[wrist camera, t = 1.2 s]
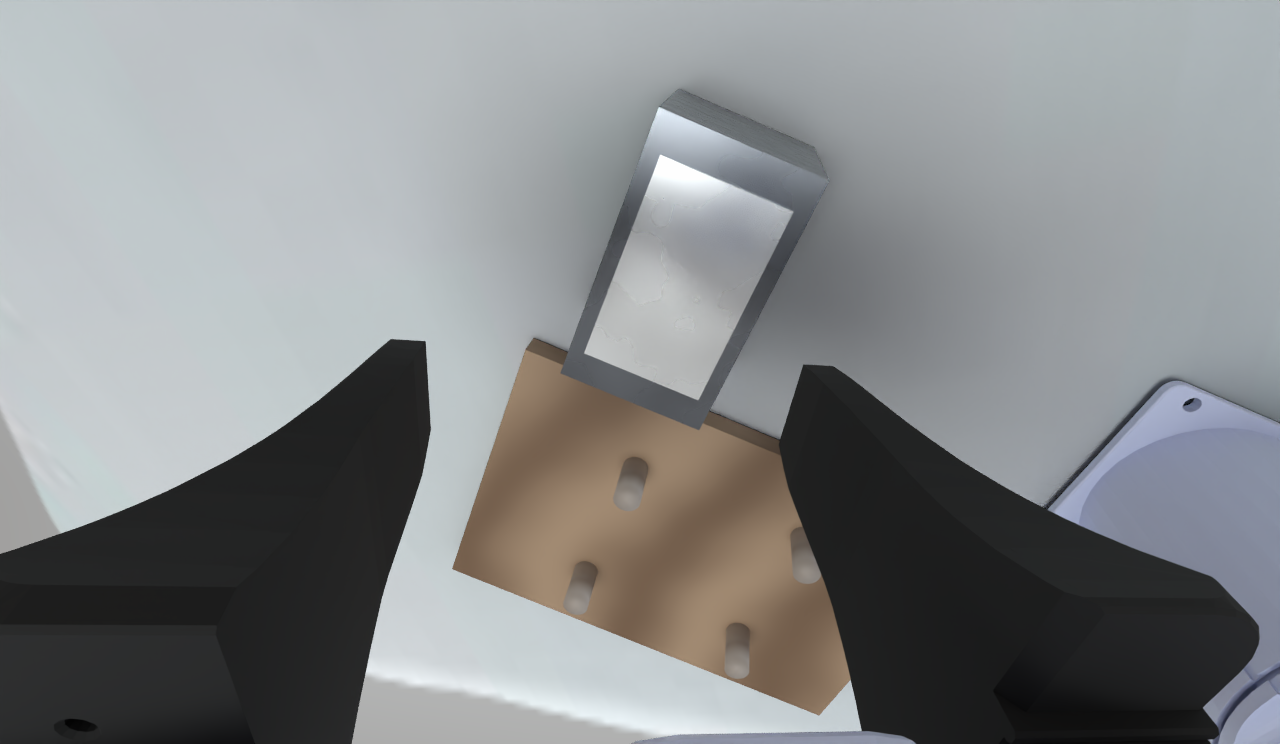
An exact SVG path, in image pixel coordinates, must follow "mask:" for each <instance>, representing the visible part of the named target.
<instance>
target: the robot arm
mask: <svg viewBox="0 0 1280 744" xmlns="http://www.w3.org/2000/svg"><path fill="white" fill-rule="evenodd" d="M1192 398H1195V399H1194V401H1193V402H1192V403H1191V404H1189V405H1186V406H1183V405H1184V403H1185V402H1186V401H1187V400H1189V399H1192ZM430 431H431V426H430V409H429V392H428V375H427V358H426V341H412V340H396V339H391V340H389V341H388V342H387V343H386V344H385V345H383V346H382V347H381V348H380V349H378V350H377V351H376V352H375V353H374V354H373V355H372V356H370V357H369V358H368V359H367V360H366V361H365V362H364V363H363V364H361V365H360V366H359V367H358V368H357V369H356V370H355V371H353V372H352V373H351V374H350V375H349V376H348V377H346V378H345V379H344V380H343V381H342V382H340V383H339V384H338V385H337V386H336V387H334V388H333V389H332V390H331V391H330V392H328V393H327V394H326V395H325V396H324V397H322V398H321V399H320V400H319V401H317V402H316V403H315V404H313V405H312V406H310V407H309V408H308V409H306V410H305V411H304V412H302V413H301V414H300V415H298V416H297V417H296V418H294V419H293V420H292V421H290V422H289V423H287V424H286V425H285V426H283V427H282V428H280V429H279V430H277V431H276V432H274V433H273V434H271V435H270V436H268V437H266V438H265V439H263V440H262V441H260V442H258V443H257V444H255V445H253V446H252V447H250V448H248V449H247V450H245V451H243V452H242V453H240V454H238V455H237V456H235V457H233V458H231V459H230V460H228V461H226V462H224V463H222V464H220V465H218V466H216V467H214V468H212V469H210V470H208V471H206V472H204V473H202V474H200V475H198V476H197V477H195V478H193V479H191V480H189V481H187V482H185V483H183V484H181V485H179V486H177V487H175V488H173V489H171V490H168V491H166V492H164V493H162V494H160V495H157V496H155V497H153V498H151V499H148V500H146V501H144V502H141V503H139V504H137V505H135V506H132V507H130V508H127V509H125V510H122V511H120V512H117V513H115V514H112V515H110V516H107V517H105V518H102V519H100V520H97V521H95V522H92V523H89V524H87V525H84V526H81V527H79V528H76V529H73V530H70V531H67V532H64V533H61V534H58V535H55V536H52V537H50V538H47V539H44V540H41V541H38V542H35V543H32V544H29V545H27V546H23V547H20V548H18V549H15V550H12V551H8V552H6V553H2V554H0V744H352V738H353V733H354V728H355V722H356V717H357V712H358V707H359V701H360V697H361V692H362V687H363V682H364V678H365V673H366V668H367V663H368V658H369V653H370V649H371V644H372V640H373V635H374V631H375V626H376V621H377V617H378V612H379V608H380V603H381V599H382V596H383V592H384V589H385V585H386V582H387V578H388V575H389V572H390V569H391V566H392V563H393V560H394V557H395V554H396V552H397V549H398V546H399V543H400V540H401V537H402V534H403V531H404V528H405V525H406V522H407V519H408V516H409V513H410V510H411V507H412V504H413V501H414V498H415V495H416V492H417V489H418V486H419V483H420V480H421V477H422V473H423V468H424V463H425V458H426V453H427V447H428V442H429V436H430ZM779 449H780V454H781V459H782V464H783V469H784V473H785V477H786V481H787V485H788V489H789V492H790V495H791V497H792V500H793V503H794V505H795V508H796V511H797V513H798V516H799V519H800V521H801V524H802V526H803V529H804V532H805V534H806V537H807V539H808V542H809V544H810V547H811V550H812V552H813V555H814V557H815V560H816V562H817V565H818V568H819V570H820V573H821V575H822V578H823V580H824V583H825V586H826V589H827V592H828V595H829V598H830V601H831V604H832V607H833V611H834V615H835V619H836V622H837V626H838V630H839V634H840V638H841V641H842V645H843V649H844V653H845V657H846V662H847V666H848V670H849V674H850V679H851V683H852V687H853V691H854V696H855V700H856V705H857V710H858V715H859V720H860V724H861V729H862V731H852V732H797V733H743V734H688V735H673V736H667V737H660V738H654V739H648V740H641V741H636V742H634V743H632V744H1280V423H1278V422H1276V421H1273V420H1271V419H1269V418H1266V417H1264V416H1262V415H1260V414H1257V413H1255V412H1253V411H1250V410H1248V409H1246V408H1243V407H1241V406H1239V405H1236V404H1234V403H1232V402H1229V401H1227V400H1225V399H1222V398H1220V397H1218V396H1216V395H1213V394H1211V393H1209V392H1206V391H1204V390H1202V389H1199V388H1197V387H1195V386H1192V385H1190V384H1188V383H1185V382H1182V381H1171V382H1168V383H1166V384H1164V385H1163V386H1161V387H1160V388H1159V389H1158V390H1157V391H1156V392H1155V393H1154V395H1153V396H1152V397H1151V398H1150V399H1149V400H1148V401H1147V402H1146V403H1145V404H1144V405H1143V406H1142V408H1141V409H1140V410H1139V411H1138V412H1137V413H1136V414H1135V415H1134V416H1133V417H1132V418H1131V419H1130V421H1129V422H1128V423H1127V424H1126V425H1125V426H1124V427H1123V428H1122V429H1121V430H1120V431H1119V432H1118V434H1117V435H1116V436H1115V437H1114V438H1113V439H1112V440H1111V441H1110V442H1109V443H1108V444H1107V445H1106V447H1105V448H1104V449H1103V450H1102V451H1101V452H1100V453H1099V454H1098V455H1097V456H1096V457H1095V458H1094V460H1093V461H1092V462H1091V463H1090V464H1089V465H1088V466H1087V467H1086V468H1085V469H1084V470H1083V472H1082V473H1081V474H1080V475H1079V476H1078V477H1077V478H1076V479H1075V480H1074V481H1073V482H1072V483H1071V485H1070V486H1069V487H1068V488H1067V489H1066V490H1065V491H1064V492H1063V493H1062V494H1061V495H1060V496H1059V498H1058V499H1057V500H1056V501H1055V502H1054V503H1053V504H1052V505H1051V506H1050V507H1049V508H1048V509H1045V508H1043V507H1041V506H1039V505H1037V504H1035V503H1033V502H1031V501H1029V500H1027V499H1025V498H1023V497H1022V496H1020V495H1018V494H1016V493H1014V492H1012V491H1011V490H1009V489H1007V488H1005V487H1003V486H1002V485H1000V484H998V483H997V482H995V481H993V480H992V479H990V478H988V477H987V476H985V475H983V474H982V473H980V472H978V471H977V470H975V469H973V468H972V467H970V466H969V465H967V464H965V463H964V462H962V461H961V460H959V459H958V458H956V457H955V456H953V455H952V454H950V453H949V452H948V451H946V450H945V449H943V448H942V447H940V446H939V445H937V444H936V443H935V442H933V441H932V440H930V439H929V438H928V437H926V436H925V435H923V434H922V433H921V432H919V431H918V430H917V429H915V428H914V427H913V426H911V425H910V424H909V423H907V422H906V421H905V420H903V419H902V418H901V417H900V416H898V415H897V414H896V413H894V412H893V411H892V410H891V409H889V408H888V407H887V406H885V405H884V404H883V403H882V402H880V401H879V400H878V399H877V398H875V397H874V396H873V395H871V394H870V393H869V392H868V391H866V390H865V389H864V388H863V387H861V386H860V385H859V384H857V383H856V382H855V381H853V380H852V379H851V378H849V377H848V376H847V375H845V374H844V373H842V372H841V371H840V370H838V369H836V368H835V367H833V366H819V365H803V368H802V371H801V374H800V378H799V381H798V384H797V387H796V390H795V394H794V397H793V400H792V403H791V407H790V410H789V413H788V416H787V419H786V423H785V426H784V429H783V432H782V436H781V439H780V442H779Z"/></svg>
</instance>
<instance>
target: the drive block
mask: <svg viewBox="0 0 1280 744" xmlns="http://www.w3.org/2000/svg"><path fill="white" fill-rule="evenodd" d="M828 182H829V179H828V177H827V175H826V172H825V170H824V168H823V166H822V164H821V161H820V159H819V157H818V155H817V153H816V150H815V148H814V147H812V146H810V145H808V144H805V143H803V142H801V141H799V140H796V139H794V138H792V137H789V136H787V135H785V134H782V133H780V132H778V131H776V130H773V129H771V128H769V127H766V126H764V125H762V124H759V123H757V122H755V121H752V120H750V119H748V118H746V117H743V116H741V115H739V114H736V113H734V112H732V111H729V110H727V109H725V108H723V107H720V106H718V105H716V104H713V103H711V102H709V101H706V100H704V99H702V98H700V97H697V96H695V95H693V94H690V93H688V92H686V91H683V90H681V89H678V90H677V91H676V92H675V93H674V94H673V95H671V96H670V97H669V98H668V99H667V100H666V101H665V102H664V103H663V104H662V105H661V106H659V108H658V111H657V113H656V116H655V119H654V121H653V124H652V127H651V129H650V132H649V135H648V138H647V140H646V143H645V146H644V148H643V151H642V154H641V156H640V159H639V162H638V165H637V167H636V170H635V173H634V175H633V178H632V181H631V184H630V186H629V189H628V192H627V194H626V197H625V200H624V202H623V205H622V208H621V211H620V213H619V216H618V219H617V221H616V224H615V227H614V229H613V232H612V235H611V238H610V240H609V243H608V246H607V248H606V251H605V254H604V256H603V259H602V262H601V265H600V267H599V270H598V273H597V275H596V278H595V281H594V283H593V286H592V289H591V292H590V294H589V297H588V300H587V302H586V305H585V308H584V311H583V313H582V316H581V319H580V321H579V324H578V327H577V329H576V332H575V335H574V338H573V340H572V343H571V346H570V348H569V351H568V354H567V356H566V359H565V362H564V365H563V367H562V370H561V374H563V375H566V376H568V377H570V378H573V379H575V380H578V381H580V382H583V383H585V384H587V385H590V386H592V387H595V388H597V389H600V390H602V391H604V392H607V393H609V394H612V395H614V396H617V397H619V398H621V399H624V400H626V401H629V402H631V403H634V404H636V405H638V406H641V407H643V408H646V409H648V410H651V411H653V412H655V413H658V414H660V415H663V416H665V417H668V418H670V419H672V420H675V421H677V422H680V423H682V424H685V425H687V426H689V427H692V428H694V429H697V430H700V428H701V426H702V424H703V422H704V420H705V418H706V416H707V414H708V412H709V411H710V409H711V407H712V405H713V403H714V401H715V399H716V397H717V395H718V393H719V391H720V389H721V388H722V386H723V384H724V382H725V380H726V378H727V376H728V374H729V372H730V370H731V368H732V366H733V365H734V363H735V361H736V359H737V357H738V355H739V353H740V351H741V349H742V347H743V345H744V343H745V342H746V340H747V338H748V336H749V334H750V332H751V330H752V328H753V326H754V324H755V322H756V320H757V318H758V317H759V315H760V313H761V311H762V309H763V307H764V305H765V303H766V301H767V299H768V297H769V295H770V294H771V292H772V290H773V288H774V286H775V284H776V282H777V280H778V278H779V276H780V274H781V272H782V271H783V269H784V267H785V265H786V263H787V261H788V259H789V257H790V255H791V253H792V251H793V249H794V248H795V246H796V244H797V242H798V240H799V238H800V236H801V234H802V232H803V230H804V228H805V226H806V225H807V223H808V221H809V219H810V217H811V215H812V213H813V211H814V209H815V207H816V205H817V203H818V202H819V200H820V198H821V196H822V194H823V192H824V190H825V188H826V186H827V184H828Z"/></svg>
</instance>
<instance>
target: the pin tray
mask: <svg viewBox="0 0 1280 744" xmlns="http://www.w3.org/2000/svg"><path fill="white" fill-rule="evenodd" d="M567 354H568V352H566V351H563V350H561V349H558V348H556V347H554V346H551V345H549V344H546V343H544V342H542V341H539V340H537V339H534V338H533V340H532V341H531V343H530V344H529V346H528V347H527V348H526V350H525V353H524V356H523V359H522V362H521V365H520V368H519V371H518V374H517V377H516V380H515V383H514V386H513V389H512V392H511V395H510V398H509V401H508V404H507V407H506V410H505V413H504V416H503V419H502V422H501V425H500V428H499V431H498V434H497V437H496V440H495V443H494V446H493V449H492V452H491V455H490V458H489V461H488V463H487V466H486V469H485V472H484V475H483V478H482V481H481V484H480V487H479V490H478V493H477V496H476V499H475V502H474V505H473V508H472V511H471V514H470V517H469V520H468V523H467V526H466V529H465V532H464V535H463V538H462V541H461V544H460V547H459V550H458V553H457V556H456V559H455V562H454V565H453V568H452V569H453V570H456V571H458V572H461V573H463V574H466V575H468V576H471V577H473V578H476V579H478V580H481V581H483V582H486V583H488V584H491V585H494V586H496V587H499V588H501V589H504V590H506V591H509V592H511V593H514V594H516V595H519V596H521V597H524V598H526V599H529V600H531V601H534V602H536V603H539V604H541V605H544V606H546V607H549V608H551V609H554V610H556V611H559V612H561V613H564V614H566V615H569V616H571V617H574V618H576V619H579V620H581V621H584V622H586V623H589V624H591V625H594V626H596V627H599V628H601V629H604V630H606V631H609V632H611V633H614V634H616V635H619V636H621V637H624V638H626V639H629V640H631V641H634V642H636V643H639V644H641V645H644V646H646V647H649V648H651V649H654V650H656V651H659V652H661V653H664V654H666V655H669V656H671V657H674V658H676V659H679V660H681V661H684V662H687V663H689V664H692V665H694V666H697V667H699V668H702V669H704V670H707V671H709V672H712V673H714V674H717V675H719V676H722V677H724V678H727V679H729V680H732V681H734V682H737V683H739V684H742V685H744V686H747V687H749V688H752V689H754V690H757V691H759V692H762V693H764V694H767V695H769V696H772V697H774V698H777V699H779V700H782V701H784V702H787V703H789V704H792V705H794V706H797V707H799V708H802V709H804V710H807V711H809V712H812V713H814V714H817V715H820V714H821V713H822V712H823V710H824V709H825V708H826V707H827V706H828V705H829V704H830V702H831V701H832V700H833V699H834V698H835V697H836V695H837V694H838V693H839V692H840V691H841V690H842V689H843V687H844V686H845V685H846V684H847V683H848V682H849V681H850V674H849V670H848V666H847V662H846V657H845V653H844V649H843V645H842V641H841V638H840V634H839V630H838V626H837V622H836V619H835V615H834V611H833V607H832V604H831V601H830V598H829V595H828V592H827V589H826V586H825V583H824V580H823V578H822V575H821V573H820V570H819V568H818V565H817V562H816V560H815V557H814V555H813V552H812V550H811V547H810V544H809V542H808V539H807V537H806V534H805V532H804V529H803V526H802V524H801V521H800V519H799V516H798V513H797V511H796V508H795V505H794V503H793V500H792V497H791V495H790V492H789V489H788V485H787V481H786V477H785V473H784V469H783V464H782V459H781V454H780V449H779V442H780V441H779V440H777V439H775V438H772V437H770V436H767V435H765V434H763V433H760V432H758V431H755V430H753V429H751V428H748V427H746V426H743V425H741V424H739V423H736V422H734V421H731V420H729V419H727V418H724V417H722V416H719V415H717V414H715V413H712V412H710V411H709V412H708V414H707V416H706V418H705V420H704V422H703V424H702V426H701V428H700V430H697V429H694V428H692V427H689V426H687V425H685V424H682V423H680V422H677V421H675V420H672V419H670V418H668V417H665V416H663V415H660V414H658V413H655V412H653V411H651V410H648V409H646V408H643V407H641V406H638V405H636V404H634V403H631V402H629V401H626V400H624V399H621V398H619V397H617V396H614V395H612V394H609V393H607V392H604V391H602V390H600V389H597V388H595V387H592V386H590V385H587V384H585V383H583V382H580V381H578V380H575V379H573V378H570V377H568V376H566V375H563V374H561V370H562V367H563V365H564V362H565V359H566V356H567Z"/></svg>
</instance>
